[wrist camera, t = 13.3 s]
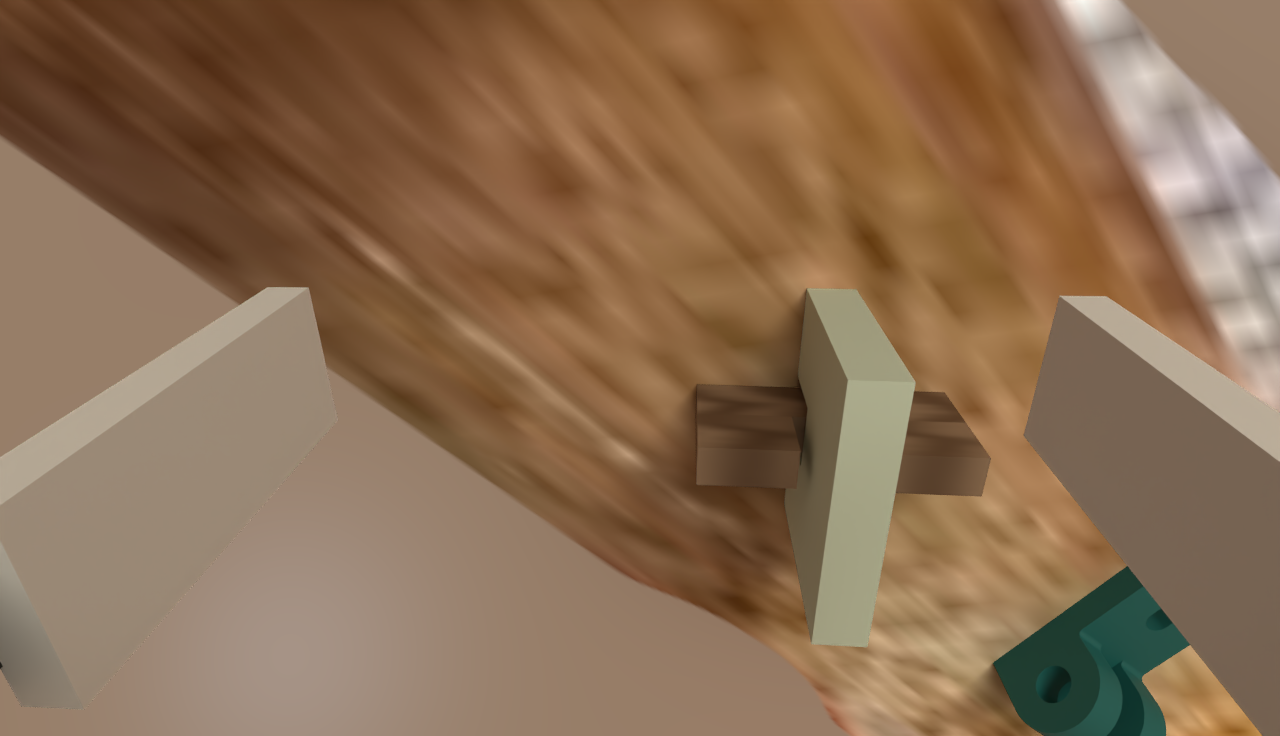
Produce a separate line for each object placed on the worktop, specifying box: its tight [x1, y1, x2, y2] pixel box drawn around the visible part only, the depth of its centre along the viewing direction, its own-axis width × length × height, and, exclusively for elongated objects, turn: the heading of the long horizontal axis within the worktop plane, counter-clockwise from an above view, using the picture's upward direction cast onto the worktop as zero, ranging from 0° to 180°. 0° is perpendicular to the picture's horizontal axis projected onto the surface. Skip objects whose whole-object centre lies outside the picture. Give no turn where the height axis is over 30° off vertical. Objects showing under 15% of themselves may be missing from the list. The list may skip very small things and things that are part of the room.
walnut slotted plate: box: [696, 385, 991, 496], centre depth 44 cm, size 16×2×8 cm, turn 90°
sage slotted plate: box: [784, 288, 916, 647], centre depth 42 cm, size 16×3×13 cm, turn 0°
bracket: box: [993, 566, 1190, 736], centre depth 50 cm, size 18×7×8 cm, turn 143°
